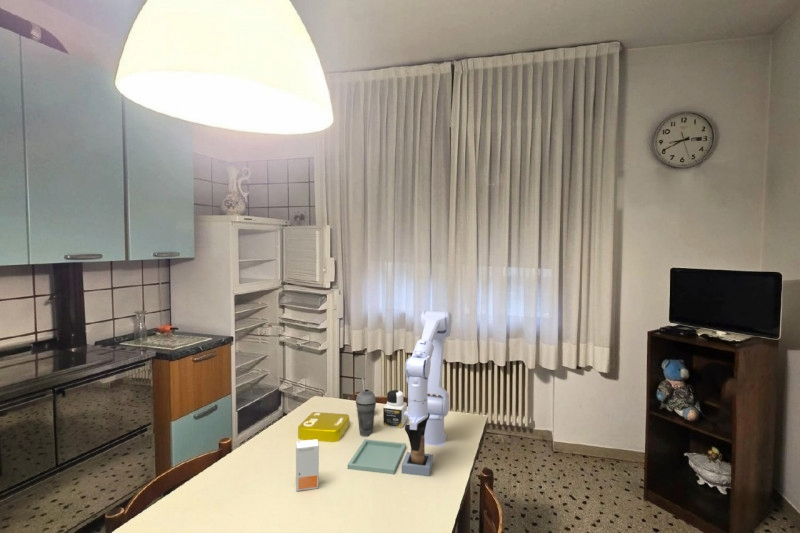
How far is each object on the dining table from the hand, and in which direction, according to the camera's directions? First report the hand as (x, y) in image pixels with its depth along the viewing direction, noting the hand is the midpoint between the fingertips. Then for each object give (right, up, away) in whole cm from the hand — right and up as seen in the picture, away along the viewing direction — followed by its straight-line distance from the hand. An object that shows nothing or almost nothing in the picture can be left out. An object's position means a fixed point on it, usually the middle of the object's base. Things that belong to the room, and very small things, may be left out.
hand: (417, 444), depth 123 cm
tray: (-12, -8, +7) cm, 16 cm away
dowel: (0, -7, 0) cm, 7 cm away
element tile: (-32, -7, +27) cm, 42 cm away
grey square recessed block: (0, -8, 0) cm, 8 cm away
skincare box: (-30, -8, -8) cm, 33 cm away
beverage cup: (-17, -7, +25) cm, 31 cm away
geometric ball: (-19, -7, +41) cm, 46 cm away
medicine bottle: (-7, -7, +34) cm, 35 cm away
